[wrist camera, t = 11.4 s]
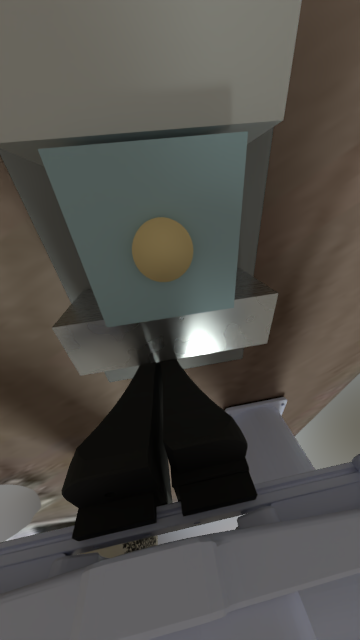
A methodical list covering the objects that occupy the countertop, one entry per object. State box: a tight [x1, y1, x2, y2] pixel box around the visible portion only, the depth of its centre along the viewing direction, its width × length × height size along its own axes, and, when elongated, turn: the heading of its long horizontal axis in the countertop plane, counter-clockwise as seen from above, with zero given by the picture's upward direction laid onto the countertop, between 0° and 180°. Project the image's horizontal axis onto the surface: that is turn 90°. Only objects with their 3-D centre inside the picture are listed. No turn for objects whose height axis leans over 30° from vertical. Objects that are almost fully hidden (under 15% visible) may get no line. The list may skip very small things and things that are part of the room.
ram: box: [52, 269, 278, 376], centre depth 10 cm, size 3×10×4 cm, turn 95°
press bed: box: [0, 0, 302, 382], centre depth 10 cm, size 18×12×5 cm, turn 5°
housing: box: [38, 131, 248, 328], centre depth 7 cm, size 5×5×5 cm
